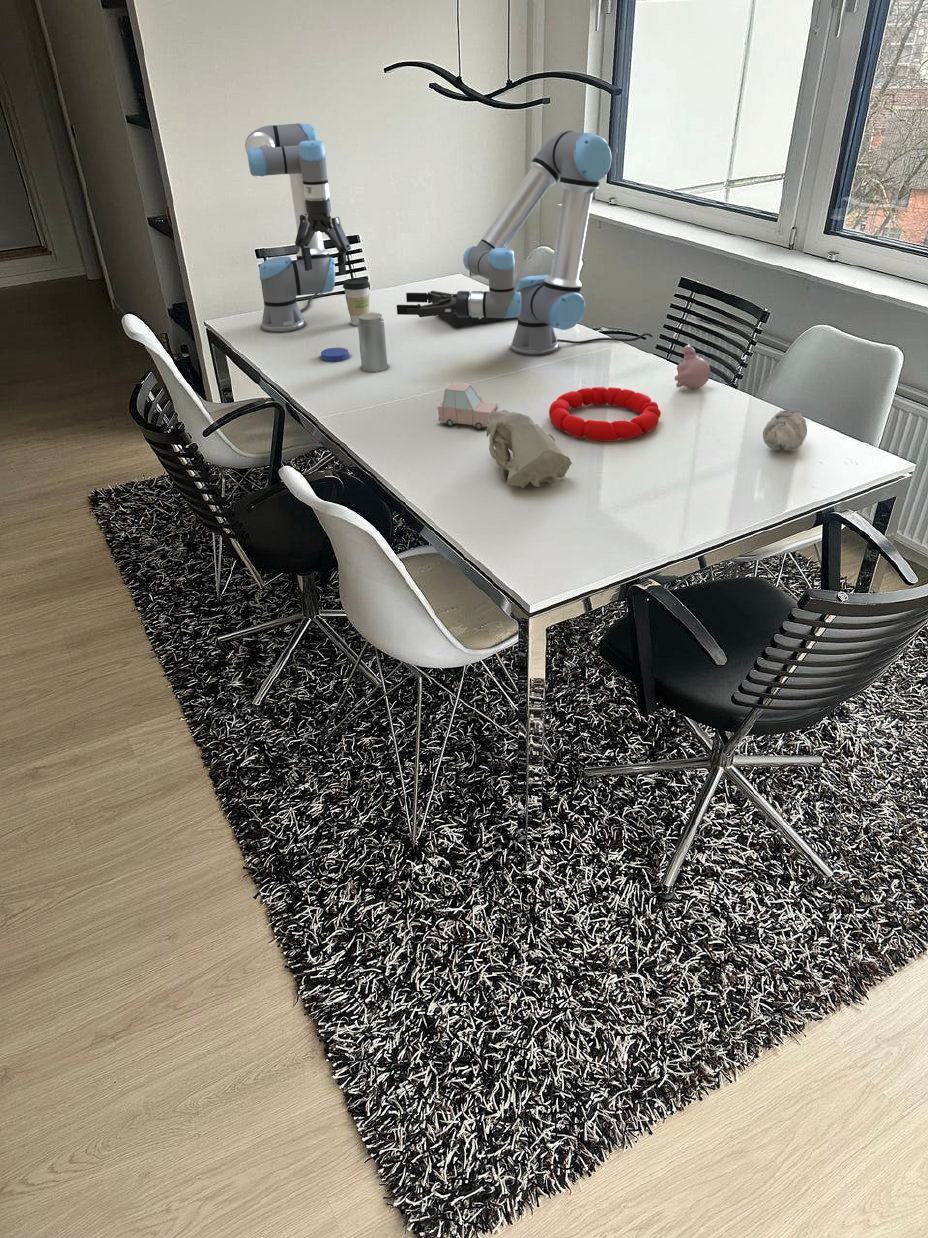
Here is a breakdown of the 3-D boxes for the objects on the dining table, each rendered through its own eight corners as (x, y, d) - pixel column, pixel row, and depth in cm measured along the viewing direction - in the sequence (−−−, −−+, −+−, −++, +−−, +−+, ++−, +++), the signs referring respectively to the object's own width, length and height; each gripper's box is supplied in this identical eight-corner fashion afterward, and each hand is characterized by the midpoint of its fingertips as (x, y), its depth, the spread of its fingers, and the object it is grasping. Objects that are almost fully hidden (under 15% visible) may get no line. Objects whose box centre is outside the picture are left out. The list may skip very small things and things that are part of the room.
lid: (327, 352, 301) (326, 346, 300) (352, 353, 299) (352, 348, 298) (317, 360, 294) (316, 355, 292) (343, 362, 292) (342, 356, 290)
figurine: (665, 387, 264) (669, 347, 257) (693, 380, 268) (698, 340, 261) (686, 396, 257) (690, 355, 250) (714, 388, 262) (720, 348, 255)
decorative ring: (589, 435, 224) (684, 402, 234) (527, 398, 247) (617, 369, 256) (589, 461, 229) (683, 427, 238) (529, 422, 251) (617, 393, 260)
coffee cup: (372, 326, 323) (368, 283, 314) (345, 327, 323) (340, 284, 315) (374, 318, 331) (371, 276, 322) (348, 319, 331) (344, 277, 323)
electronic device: (453, 311, 314) (431, 298, 329) (454, 329, 317) (432, 315, 332) (533, 299, 324) (509, 286, 339) (533, 316, 327) (509, 303, 342)
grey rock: (496, 517, 219) (521, 479, 201) (463, 429, 225) (484, 384, 207) (557, 503, 225) (586, 465, 206) (523, 417, 231) (549, 373, 212)
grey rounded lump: (746, 448, 227) (752, 410, 221) (789, 435, 232) (796, 398, 227) (776, 462, 219) (783, 424, 213) (820, 449, 225) (828, 411, 219)
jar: (392, 368, 285) (388, 316, 276) (370, 373, 282) (365, 321, 272) (379, 361, 291) (374, 310, 282) (357, 367, 287) (352, 315, 278)
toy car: (488, 432, 240) (488, 396, 234) (436, 426, 244) (434, 390, 239) (499, 419, 247) (499, 384, 241) (448, 413, 252) (447, 379, 246)
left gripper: (277, 197, 272) (287, 270, 284) (342, 203, 261) (349, 278, 273) (293, 193, 277) (302, 265, 289) (357, 199, 266) (364, 273, 278)
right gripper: (464, 328, 262) (393, 327, 265) (476, 305, 282) (411, 304, 285) (463, 302, 258) (392, 301, 261) (475, 280, 278) (409, 280, 281)
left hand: (325, 272), depth 281 cm, fingers open, 13 cm apart
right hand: (401, 303), depth 273 cm, fingers open, 13 cm apart
